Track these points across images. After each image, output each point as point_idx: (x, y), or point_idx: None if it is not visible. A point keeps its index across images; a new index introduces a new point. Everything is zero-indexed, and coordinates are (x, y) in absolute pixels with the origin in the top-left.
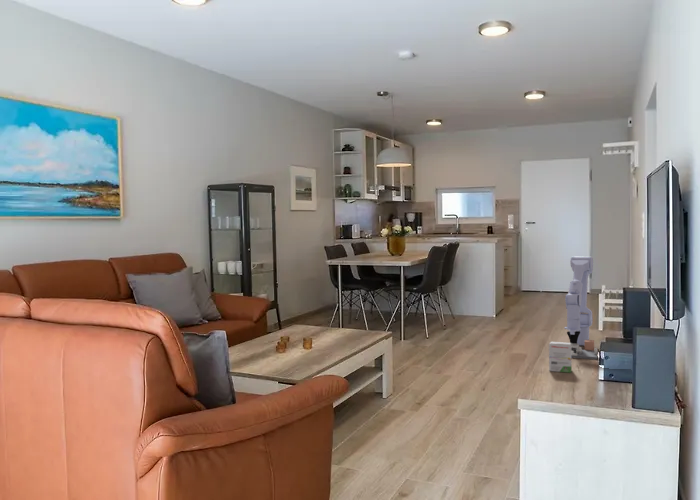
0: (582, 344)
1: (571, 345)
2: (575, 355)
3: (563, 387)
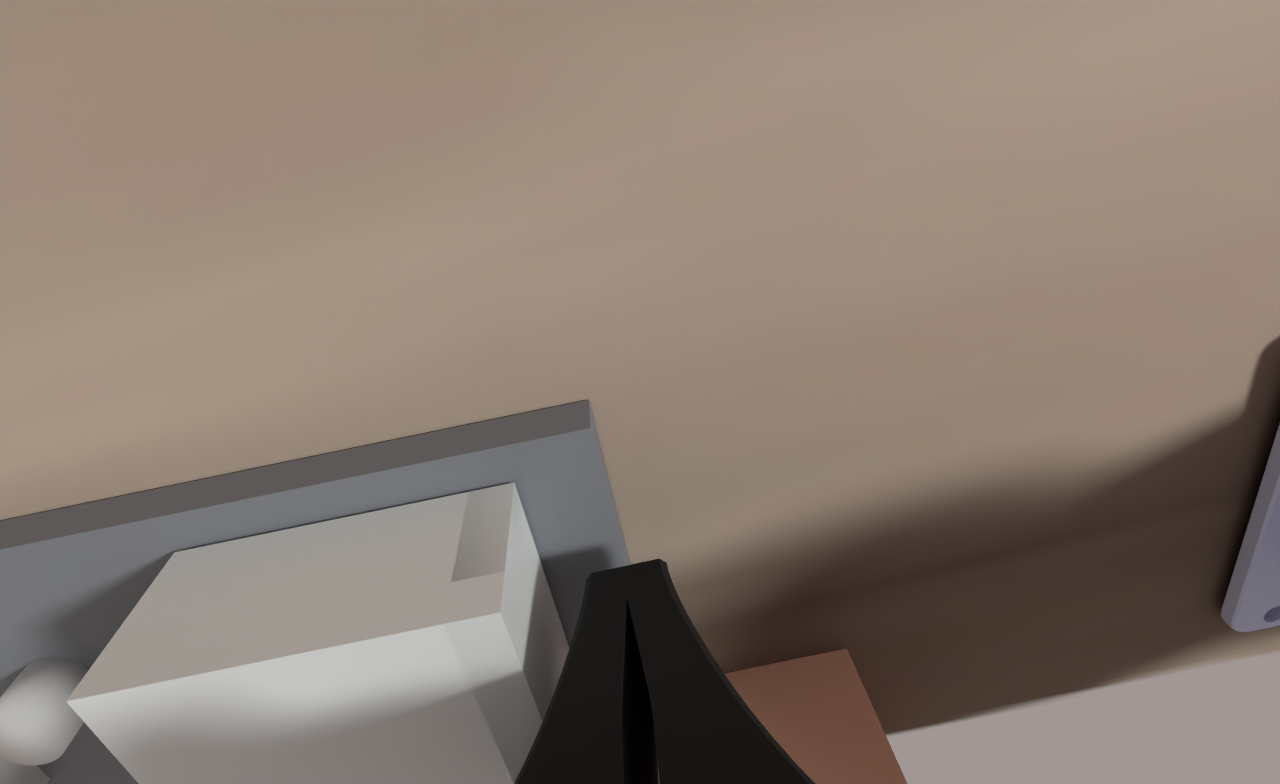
0: (1276, 529)
1: (202, 779)
2: (2, 765)
3: None
